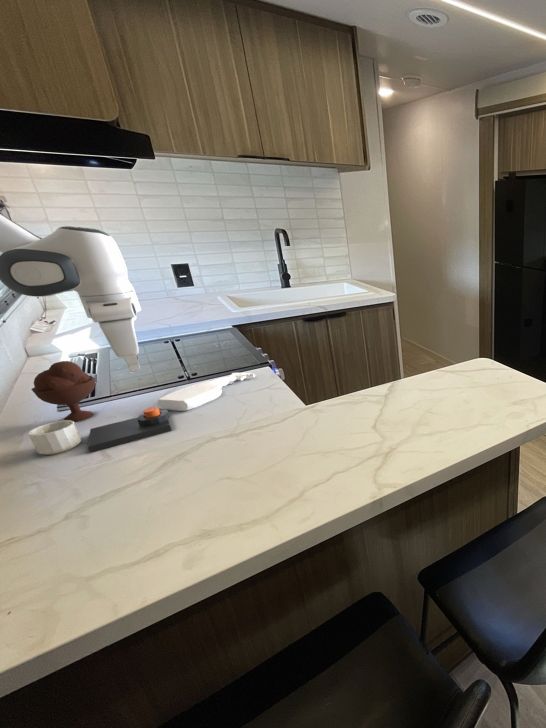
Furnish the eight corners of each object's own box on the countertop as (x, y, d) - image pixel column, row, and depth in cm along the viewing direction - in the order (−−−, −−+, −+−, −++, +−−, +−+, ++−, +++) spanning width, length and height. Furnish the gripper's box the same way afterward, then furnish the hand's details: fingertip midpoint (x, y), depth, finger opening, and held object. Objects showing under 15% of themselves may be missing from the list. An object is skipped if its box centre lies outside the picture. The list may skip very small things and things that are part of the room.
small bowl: (36, 459, 84) (25, 438, 82) (40, 447, 89) (30, 427, 87) (81, 447, 88) (72, 427, 86) (83, 436, 93) (74, 417, 91)
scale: (90, 452, 86) (85, 440, 85) (92, 434, 94) (87, 422, 93) (173, 429, 95) (169, 418, 94) (169, 414, 103) (165, 404, 102)
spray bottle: (155, 409, 106) (231, 377, 128) (189, 412, 104) (260, 379, 126) (151, 399, 105) (229, 368, 127) (186, 402, 103) (258, 370, 125)
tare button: (145, 419, 94) (143, 413, 94) (145, 415, 96) (142, 409, 96) (160, 416, 96) (158, 409, 96) (160, 412, 98) (157, 405, 97)
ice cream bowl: (100, 405, 109) (79, 352, 104) (112, 415, 103) (90, 360, 98) (44, 420, 101) (18, 364, 96) (53, 432, 95) (26, 373, 90)
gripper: (94, 302, 92) (116, 359, 97) (90, 315, 78) (116, 381, 83) (130, 298, 96) (150, 353, 101) (132, 310, 82) (155, 373, 87)
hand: (135, 366), depth 92 cm, fingers open, 7 cm apart
